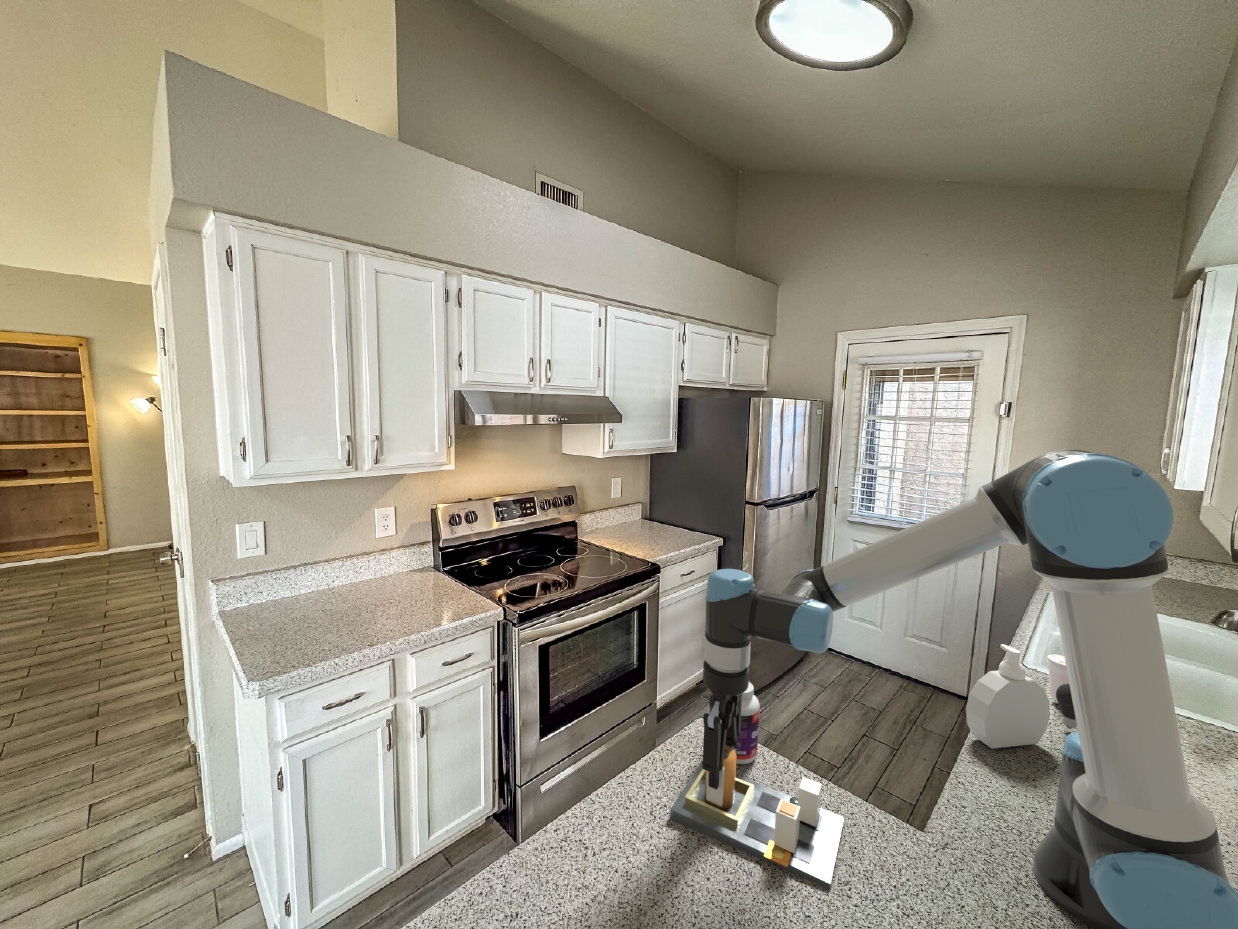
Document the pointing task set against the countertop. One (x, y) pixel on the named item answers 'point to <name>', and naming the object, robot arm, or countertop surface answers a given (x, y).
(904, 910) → the countertop surface
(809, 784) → the breaker
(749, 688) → the pill bottle
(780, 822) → the block
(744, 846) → the breaker panel
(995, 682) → the soap bottle
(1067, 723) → the light bulb
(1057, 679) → the smoothie
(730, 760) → the cap
